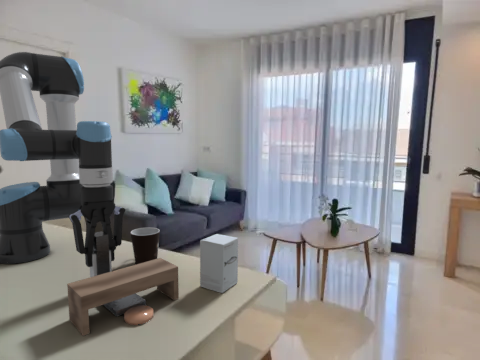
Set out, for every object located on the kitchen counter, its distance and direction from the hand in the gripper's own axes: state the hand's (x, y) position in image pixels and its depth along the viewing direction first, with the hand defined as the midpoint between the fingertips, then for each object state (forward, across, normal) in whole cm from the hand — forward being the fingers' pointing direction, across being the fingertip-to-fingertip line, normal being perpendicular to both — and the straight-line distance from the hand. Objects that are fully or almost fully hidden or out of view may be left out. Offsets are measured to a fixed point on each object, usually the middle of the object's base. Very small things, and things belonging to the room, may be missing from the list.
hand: (101, 275), depth 85 cm
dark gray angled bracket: (+3, 0, -7) cm, 8 cm away
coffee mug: (+3, +18, +9) cm, 20 cm away
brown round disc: (+3, 0, -20) cm, 20 cm away
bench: (+3, 0, -14) cm, 15 cm away
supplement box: (+4, +23, -19) cm, 30 cm away
